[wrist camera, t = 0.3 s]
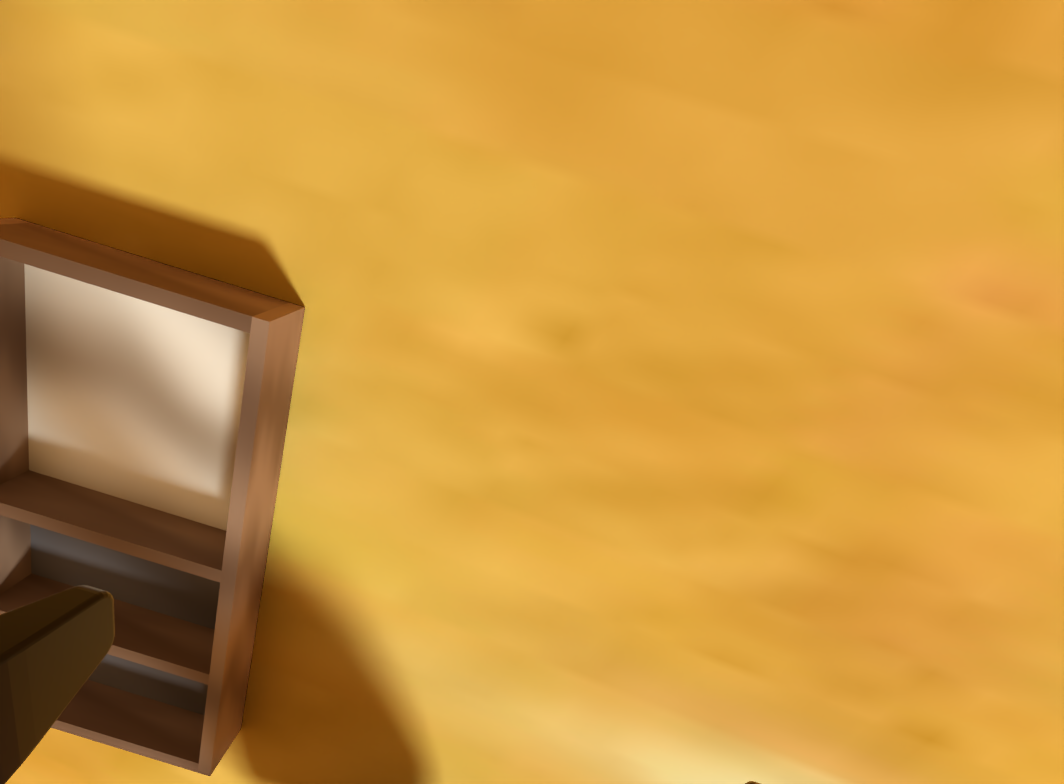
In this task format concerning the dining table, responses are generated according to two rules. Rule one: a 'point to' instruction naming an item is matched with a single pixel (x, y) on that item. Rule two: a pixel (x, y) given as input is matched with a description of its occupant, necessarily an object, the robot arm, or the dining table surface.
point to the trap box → (142, 476)
